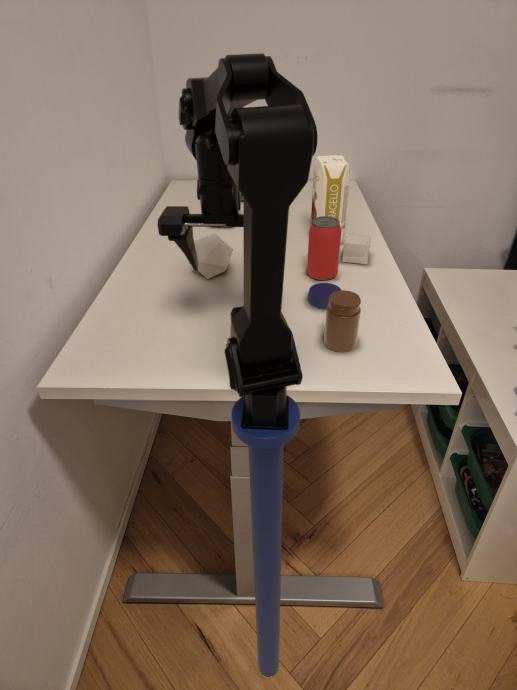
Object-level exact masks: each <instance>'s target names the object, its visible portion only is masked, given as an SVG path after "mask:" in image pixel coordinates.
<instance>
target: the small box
mask: <svg viewBox="0 0 517 690" xmlns="http://www.w3.org/2000/svg"><path fill="white" fill-rule="evenodd" d="M371 237H372V236H371V234H360V233H349V232H348V233H346V236H345V238H344V242H343V250H342V259H341V262H342V263H349V264H361V265H368V261H369V256H370V255H369V254H370V250H371V249H370V248H371Z"/></svg>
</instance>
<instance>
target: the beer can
mask: <svg viewBox="0 0 517 690" xmlns="http://www.w3.org/2000/svg"><path fill="white" fill-rule="evenodd" d="M340 242H341V227H340V221H339V220H338V219H336V218H334V217H329V216H321V217H317V218H314V219H313V220H312V225H311V224H310V227H309V231H308V244H307V249H308V250H307V264H306V273H307V275H308V276H309V277H310V278H312V279H314V280H318V281H328V280H332V279H334V278H335V277H336V276H337V275H338V272H339V262H340V252H341V251H340V250H341V243H342V242H341V243H340Z"/></svg>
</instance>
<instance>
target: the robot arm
mask: <svg viewBox="0 0 517 690" xmlns="http://www.w3.org/2000/svg"><path fill="white" fill-rule="evenodd" d="M259 100H261V101H263V100H265V103H266V105H262V106H249V105H250V104H252V103H254V102H256V101H259ZM246 106H249V107H246ZM178 122H179V126H182V129H183V131H185V135H184V142H185V145H186V147H187V149H188V151H189V152H190V154H191V155H192V157H193V158H194V159H195V162H196V169H197V178H198V179H197V180H196V181H197V182H196V198H197V200H198V201H199V202H200V213H190V209H189V208H190V207H189V206H187V205H185V206H184V205H181V206H180V205H179V206H178V205H167V206H166V207H165V208H164V209H163V210H162V212H161V213H160V215H159V216H158V218H157V230H158V231H157V232H158V235H159V236H161V237H167V240H168V241H170V242H174V243H175V245H176V246H177V247H178V248H179V249H180V251H181V252H182V253H183V254H184V256H185V258H186V259H187V261H188V263H189V262H190V266H191V267H192V269H193V271H194V272H199V271H198V259H197V254H196V249H195V244H194V243H195V239H194V228H195V227H196V228H197V227H198V228H243V275H242V276H243V277H242V278H243V282H242V283H243V286H242V287H243V291H242V292H243V299H242V300H243V301H242V302H243V303H242V306H237V307H233V308H231V311H230V315H229V316H230V334H229V335H230V336H229V337H228V338H226V344H225V348H224V350H223V352H224V357H225V364H226V368H227V374H228V382H229V383H228V384H229V388H230V390H233V391H235V392H237V394H238V397H239V398H241V397H243V396H244V395H245V396H244V404H243V412H242V419H241V427H242V428H243V429H264V430H287V429H288V428H289V397H290V396H289V395H288V396H289V397H288V396H286V395H287V387H291V386H295V385H296V386H300V385H301V384H302V381H303V372H302V368H301V363H300V359H299V355H298V350H297V345H296V341H295V336H294V334H293V331H292V329H291V327H290V325H289V324H288V322H287V320H286V318H285V315H284V314H283V311H282V307H283V296H284V295H283V294H284V282H285V281H284V280H285V269H286V267H285V265H286V256H287V255H286V253H287V241H288V240H287V239H288V229H289V228H288V227H289V214H290V207H291V205H292V204H293V202H295V200H296V199H297V197H298V196H299V195H300V193H301V191H303V189H304V188H305V186H306V185H307V183H309V178H310V172H311V166H312V161H313V157H314V156H315V154H316V152H317V147H318V128H317V124H316V121H315V118H314V116H313V113H312V111H311V108H310V107H309V104H308V101H307V98H306V97H305V95H304V93H303V91H302V90H301V89H299V87H297V86H296V85H295V84H293V83H292V82H291V81H289V80H288V79H287V78H286V77H285V76H284V75H282V74H281V73H279V72H278V70H277V68H276V65H275V63H274V59H273V58H272V57H271V56H270V55H265V54H264V53H260V52H259V53H244V54H243V53H241V54H226V55H225V56H224V57H221V58H219V59H218V64H217V68H216V69H215V70H214V71H212V73H211V74H209V76H205V77H188V78H187V80H186V83H185V88H184V87H183V88H182V89H181V96H180V97H179V100H178ZM241 194H242V196H243V199H244V200H243V213H239V212H240V211H241V209H242V204H241V203H242V202H241V201H242V200H241V197H242V196H241ZM284 426H286V427H284Z"/></svg>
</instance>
